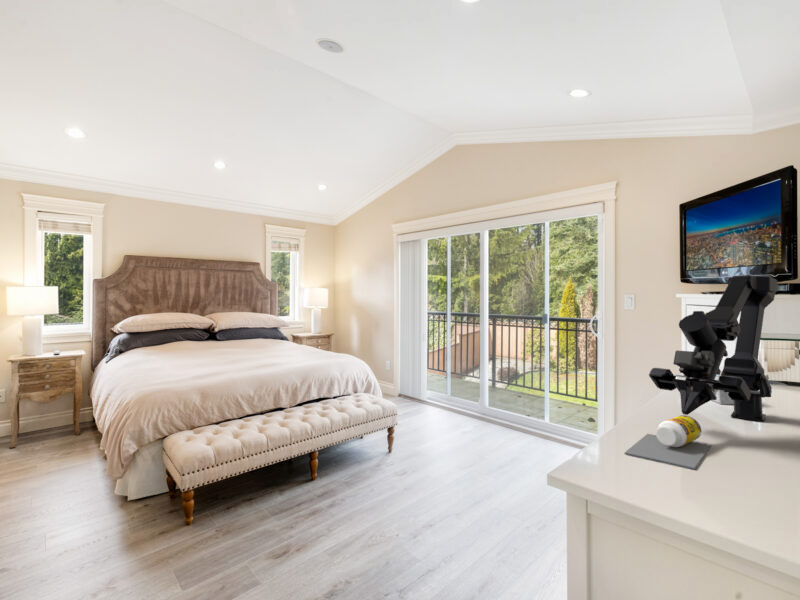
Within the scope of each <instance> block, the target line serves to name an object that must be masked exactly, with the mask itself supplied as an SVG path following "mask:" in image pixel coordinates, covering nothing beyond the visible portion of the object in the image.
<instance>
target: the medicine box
mask: <svg viewBox="0 0 800 600" xmlns="http://www.w3.org/2000/svg"><path fill="white" fill-rule="evenodd" d="M721 373H722V371H721ZM721 373H720V375H718V374H716V377H715V380H718V381H719V377H720V376H721ZM728 394H729V392H724V391H723V390H718V392H717V393H716V397H717V399H716V400H711V401H713V402H714V403H717V404H719V405H734V400H732V399H731V398H730V397H729V396H728Z"/></svg>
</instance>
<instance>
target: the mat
mask: <svg viewBox="0 0 800 600" xmlns="http://www.w3.org/2000/svg"><path fill="white" fill-rule="evenodd" d="M711 448H712V445H711V444H706V443H700V442H695V441H692V442H689V443H687V444H685V445H683V446H680V447H671V446H667V445H664V444H662V443H661V442H660V441H659V440H658V438H657V436H656V434H652V433H646V434H645V435H644V436H643V437H642V438H640V439H639V440H638V441H637V442H635V443H634V444H633V445H632V446H631V447H630V448H628V449H627V450H626V451H625V452H624V455H625V454H626V456H629V457H630V456H631V457H634V458H638V459H639V458H640V459H643V460H644V459H645V460H648V461H653V462H658V463H660V464H661V463H662V464H666V465H672V466H676V467H680V468H684V469H688V470H693V471H695V470H696V469H697V467H698V465H700V463H701V462H702V460H703V459H704V458H705V456H706V455H707V454H708V452H709V451H710V449H711Z"/></svg>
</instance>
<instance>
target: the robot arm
mask: <svg viewBox="0 0 800 600" xmlns="http://www.w3.org/2000/svg"><path fill="white" fill-rule="evenodd" d="M778 291H779V282H778V280H777V279H776V278H774V277H772V276H771V275H769V274H767V275H751V274H744V275H733V276H731V277H729V278H728V280H727V286H726V288H725V290H724V292H723V293H722V296H721V297H720V299H719V301H718V303H717V304H716V307H715V308H714V309H712V310H710V311H708V312H704V310H694V311H693V312H692V313H691V314H688V315H687V316H684V317H683V318H682V319H680V321H679V322H678V327H679V329H680V330H681V332H682V334H683V335H684V337H685V338H686V340H687V342H688V343H689V345H691V346H693V347H694V349H693V351H689V350H675V353H674V358H673V363H672V364H673V365H675V366H677V367H679V368H678V371H679V372H680V374H679V373H676V374H675V375H674V373H673V372H672V370H671V369H670V368H662V367H652V368H651V369H650V372H649V374H648V376H649V378H650V379H651V381H652V383H653V384H655V386H656V388H657V389H660V390H664V391H671V392H672V391H674V390H676V389H677V391H678V392H679V395H680V406H681V407H680V408H681V413H682V415H687V416H689V414H691V413H692V412H694V411H696V410H697V409H699V407H701V406H703V405H704V404H707V403H708V402H710V401H712V400H716V399H717V397H716V393H717V392H718V390H723V391H724V392H729V394H728V396H729V397H730V398H731V399H732V400H734V404H733V412H731V414H730V418H733V419H742V420H750V421H757V422H765V420H766V417H767V415H766V414H764V413H763V399H762V398H772V392H773V391H772V386H771V384H770V382H769V380H768V378H767V376H766V375H765V368H764V367H763V366H762V364H761V362H760V361H759V352H760V346H761V338H762V329H763V325H764V324H763V323H764V315H765V309H766V308H767V307H768V306H770V305H771V303H772V302H774V300H775V295H776V293H777V292H778ZM738 317H739V321H738ZM735 340H736V343H735V349H734V354H732V356H730V357H728V356H729V355H728V351H727V346H726V344H725V342H724V341H726V342H734V341H735ZM724 357H726V358H725V359H724V361H723V358H724ZM722 361H723V363H724V364H723V369H722V370H721V369H720V366H721V364H722ZM721 372H722V373H721ZM720 373H721V376H720V377H719V381H718V380H715V377H716V374H718V375H720Z"/></svg>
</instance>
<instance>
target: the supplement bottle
mask: <svg viewBox="0 0 800 600" xmlns="http://www.w3.org/2000/svg"><path fill="white" fill-rule="evenodd" d="M702 432H703V431H702V427H701V424H700V423H699V422H698V421H697V419H696V418H693V417H692V416H690V415H685V414H681V415H678V416H676V417H675V416H674V417H673V418H669V419H666V420H664V421H662V422H660V423H659V425H658V426H657V429H656V432H655V435H656V436H657V438H658V440H659V441H660V442H661V443H662V444H664V445H667V446H671V447H680V446H683V445H685V444H687V443H689V442H695V441H696V440H698V439H699V438H700V437H701V436H702Z"/></svg>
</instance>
